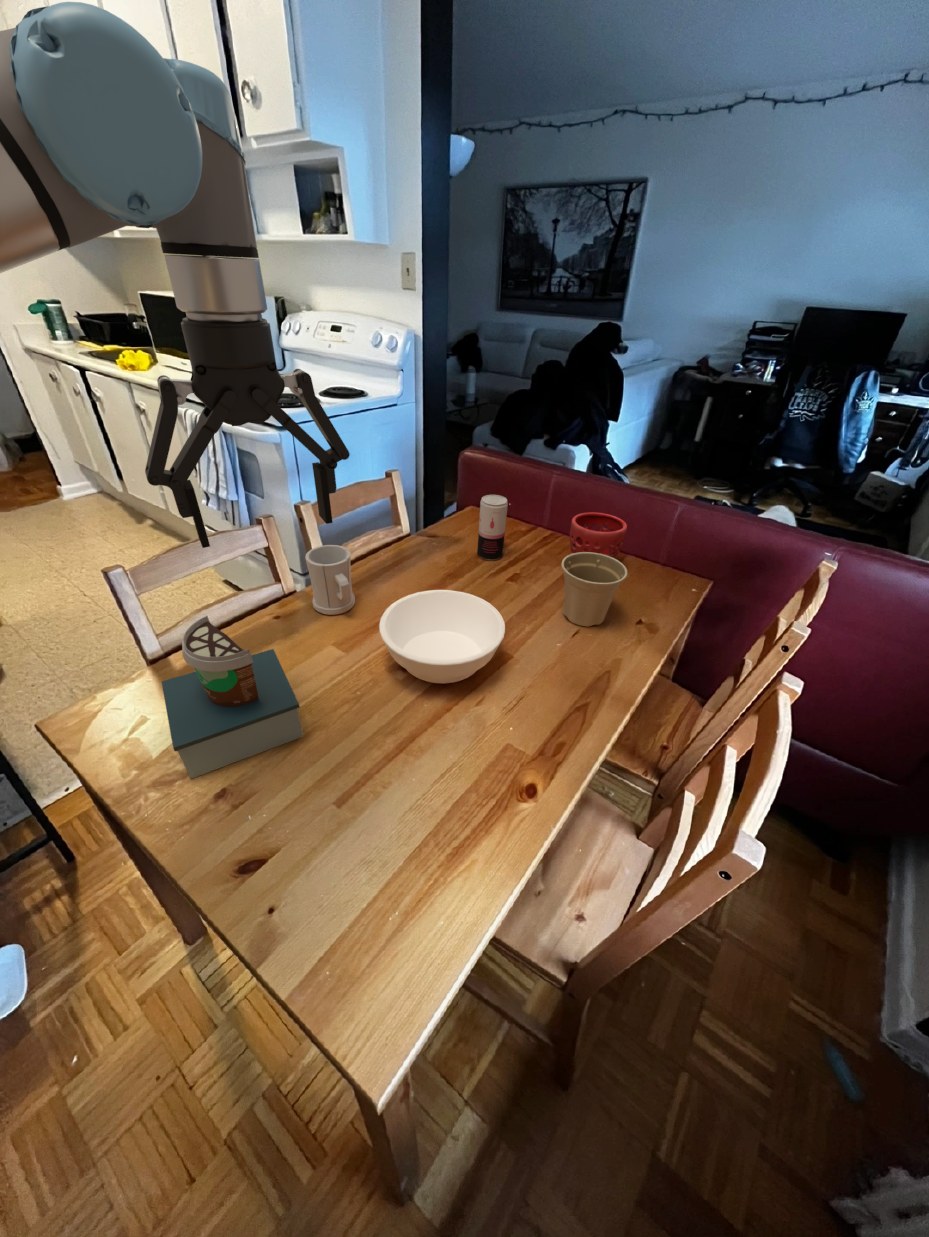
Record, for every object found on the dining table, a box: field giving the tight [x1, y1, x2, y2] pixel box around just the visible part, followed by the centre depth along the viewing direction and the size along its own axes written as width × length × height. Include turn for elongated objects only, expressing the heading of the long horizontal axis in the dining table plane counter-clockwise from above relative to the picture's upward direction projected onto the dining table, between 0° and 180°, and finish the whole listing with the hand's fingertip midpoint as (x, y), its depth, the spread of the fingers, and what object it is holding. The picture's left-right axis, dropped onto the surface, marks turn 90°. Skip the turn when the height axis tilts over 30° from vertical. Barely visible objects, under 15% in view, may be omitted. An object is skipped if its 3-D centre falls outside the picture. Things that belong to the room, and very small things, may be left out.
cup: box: [304, 544, 356, 616], centre depth 103 cm, size 10×9×12 cm
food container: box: [181, 615, 259, 707], centre depth 71 cm, size 12×6×10 cm, turn 49°
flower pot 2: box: [560, 552, 628, 628], centre depth 104 cm, size 13×13×12 cm
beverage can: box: [476, 494, 509, 561], centre depth 124 cm, size 7×6×15 cm
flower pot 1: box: [569, 511, 628, 559], centre depth 123 cm, size 13×13×12 cm
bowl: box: [378, 589, 506, 684], centre depth 91 cm, size 22×22×8 cm
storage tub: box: [161, 648, 304, 780], centre depth 76 cm, size 17×15×7 cm
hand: (268, 530), depth 57 cm, fingers open, 13 cm apart
